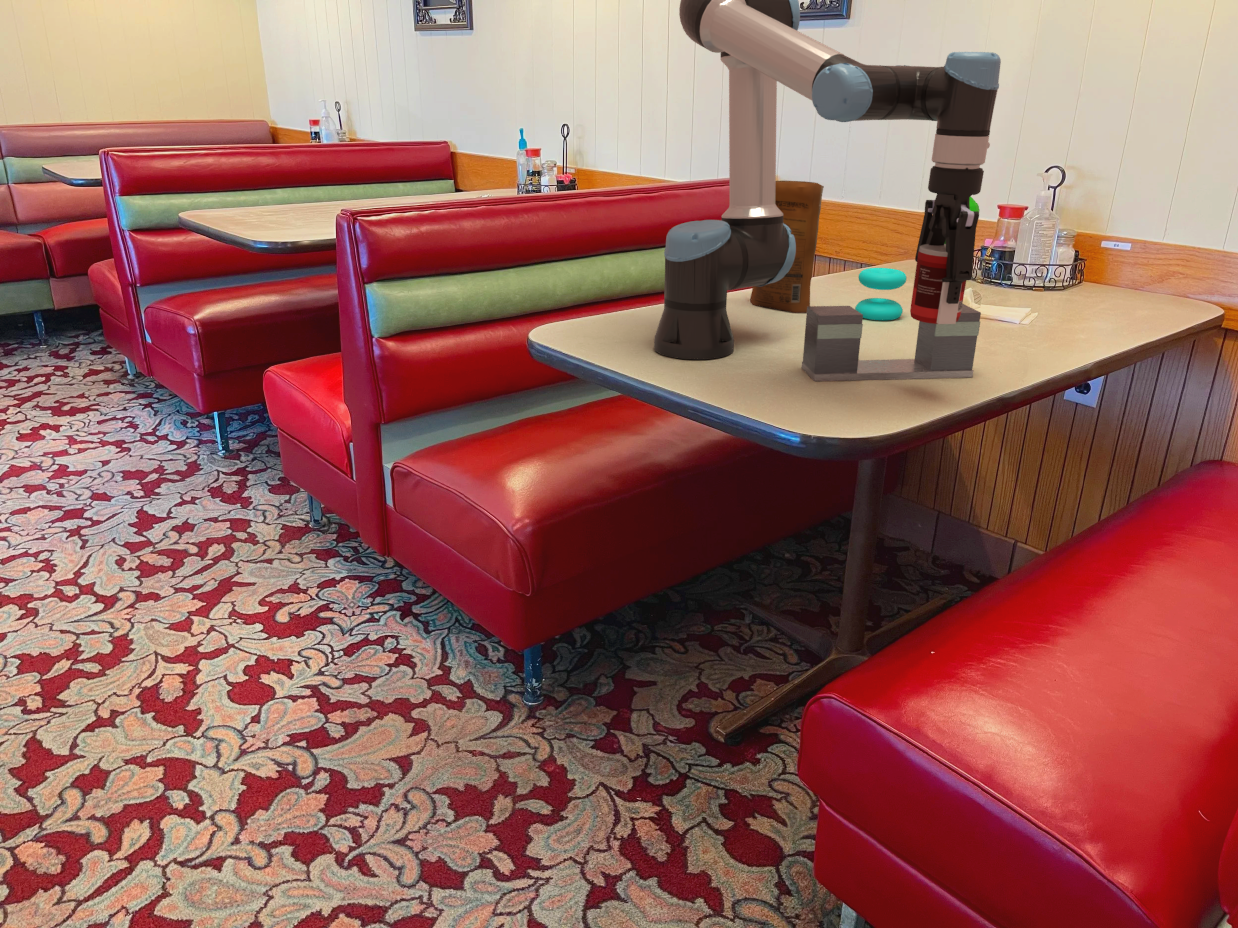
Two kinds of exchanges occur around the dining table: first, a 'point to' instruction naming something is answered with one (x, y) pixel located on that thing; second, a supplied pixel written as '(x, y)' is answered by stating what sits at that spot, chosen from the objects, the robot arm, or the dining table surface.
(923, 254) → the canned food
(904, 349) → the dining table surface
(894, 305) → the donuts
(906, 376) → the grey double block stand
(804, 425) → the dining table surface
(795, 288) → the pancake mix bag
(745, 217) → the robot arm
